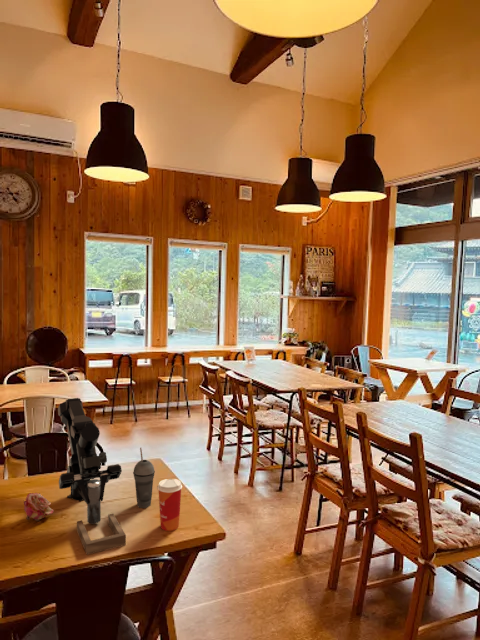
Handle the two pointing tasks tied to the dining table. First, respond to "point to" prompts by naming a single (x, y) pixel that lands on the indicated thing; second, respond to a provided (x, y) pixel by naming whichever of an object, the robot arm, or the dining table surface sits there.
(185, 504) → the dining table surface
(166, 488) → the paper cup
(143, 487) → the beverage cup
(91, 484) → the pepper mill
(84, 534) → the frame
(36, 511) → the flower
